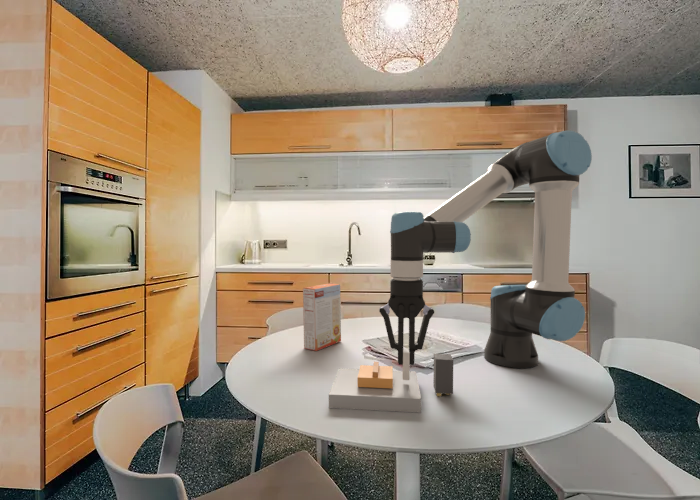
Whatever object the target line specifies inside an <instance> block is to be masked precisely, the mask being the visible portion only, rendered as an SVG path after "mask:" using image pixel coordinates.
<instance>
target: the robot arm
mask: <svg viewBox="0 0 700 500" xmlns="http://www.w3.org/2000/svg"><path fill="white" fill-rule="evenodd" d="M592 157H593V156H592V150H591V146H590V145H589V143H588V141H587V139H585V138H584V136H583V135H582V134H580V133H579V132H577V131H575V130H569V129H568V130H562V131H558V132H552V133H551V134H549V135H545V136H542V137H539V138H536V139H533V140H530V141H526V142H524V143H521V144H520V145H518V146H516V147H514V148H512V149H511V150H510V151H508V152H507V153H505V154H504V155H503V156H501V157H500V158H499V159H498V160H496V161H494V162H493V163H492V164H491V165H489V166H488V167H487V169H486V173H485V172H484V174H483V175H480V177H478V178H476V179H475V180H474V181H472V182H471V183H470V184H468V185H467V186H466V187H464V188H463V189H462V190H460V191H458V192H457V193H456V194H454V195H453V196H452V197H450V198H449V199H447V200H446V201H444V202H443V203H442V204H440V205H439V206H438V207H436V208H435V209H433V210H432V211H430V212H428V214H426V215H425V216H424V213H423V212H419V211H418V212H417V211H399V212H394V213H393V214H392V215H391V221H390V231H389V233H390V277H391V280H390V282H389V283H390V285H389V286H390V289H389V290H390V291H389V293H390V297H389V299H388V302H387V304H385V305H383V306H382V305H381V306H380V307H379V309H378V311H379V313H380V315H381V316H382V318H383V322H384V325H385V330H386V333H387V338H388V341H389V342H388V343H389V346H390V349H394V350H396V351H397V363H398V365H402V371H403V380H409V371H410V367H411V366H414V365H415V353H416V351H418V350H420V351H421V350H422V349H423V348H424V347H423V346H424V342H425V338H426V336H427V331H428V327H429V323H430V320H431V319H432V317H433V316H434V314H435V310H434V308H433V307H430V306H428V305H427V304H426V301H425V300H424V281H423V280H422V278H423V277H424V254H425V253H426V254H428V253H433V254H434V253H439V254H440V253H443V254H444V253H447V254H448V253H449V254H450V253H453V254H455V253H463V252H465V251H467V250H468V248H469V246H470V245H471V241H472V239H471V238H472V237H471V235H472V234H471V233H472V232H471V228H470V227H469V226H468V225H467V223H466V222H465V221H466V220H467V219H469V218H470V217H471V216H473V215H474V214H475V213H477V212H478V211H480V210H481V209H483V208H484V207H485V206H487V205H488V204H490V203H491V202H492V201H493V200H495V199H496V198H498V197H499V196H500V195H502V194H508V193H510V192H512V191H513V190H514V189H516V188H518V187H521V186H525V185H528V186H529V188H530V189H531V190H532V191H533V192H534V215H533V241H532V245H533V246H532V264H531V267H532V268H531V280H530V281H529V282H528V283H527V284H509V285H508V284H506V285H505V284H504V285H495V286H493V287H492V288H491V292H490V299H489V300H490V334H489V337H488V339H487V341H486V344H485V347H484V351H483V352H484V353H483V358H484V359H485V360H486V361H487V362H489V363H491V364H494V365H496V366H501V367H505V368H513V369H531V368H534V367H537V366H538V365H539V353H538V351H537V347H536V344H535V342H534V339H533V335H536V336H539V337H542V338H543V339H546V340H553V341H556V342H566V341H568V340H571V339H574V337H576V336H577V334H578V333H580V331H581V329H582V328H583V326H584V323H585V320H586V309H585V306H583V303H582V302H581V301H580V300H579V299H577V298H575V297H576V296H575V293H576V290H575V288H574V287H573V286H572V285H571V284H570V282H569V276H570V275H569V271H570V270H569V269H570V250H571V249H570V246H571V228H572V227H571V223H572V199H573V198H572V196H573V195H572V194H573V190H575V189H576V188H577V187H578V186H579V185H580V175H583V174H584V173H585V172H586V171H588V169H589V168H590V167H591V164H592ZM390 311H392V312H393V313H394V315H395V316H396V317H397V342H396V340H395V336H394V335H395V334H394V331H393V327H392V322H391V320H390V315H389V314H390V313H391V312H390ZM421 311H422V314H423V318H422V321H421V324H420V328H419V333H418V337H417V340H416V339H415V337H416V336H415V335H416V334H415V333H416V332H415V331H416V330H415V329H416V325H415V324H416V318H417V317H418V316H419V314H420V313H421ZM405 319H408V348H404V331H405V330H404V327H405V325H404V323H405V322H404V321H405ZM415 340H416V341H415Z"/></svg>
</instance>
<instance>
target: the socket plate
mask: <svg viewBox="0 0 700 500" xmlns="http://www.w3.org/2000/svg"><path fill="white" fill-rule="evenodd" d="M359 369H360V368H338V370H337V373H336V375H335V378H334V380H333V383H332V386H331V388H330V389H329V393H328V409H330V408H331V409H345V410H362V411H363V410H364V411H382V412H385V411H386V412H404V413H405V412H406V413H420V414H421V413H422V397H421V396H422V395H421V390H420V387H419V385H420V384H419V380H418V375H417V371H415V370H413V371H412V370H409V380H403V370H393V388H372V387H358V373H359Z"/></svg>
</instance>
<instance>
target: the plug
mask: <svg viewBox="0 0 700 500" xmlns="http://www.w3.org/2000/svg"><path fill="white" fill-rule="evenodd" d="M433 390H434V393H435V394H436V397H441V396H442V394H445V395H446V396H451V394H452V395H453V394H454V359H453V356H452V354H449V353H447V354H443V353H433Z"/></svg>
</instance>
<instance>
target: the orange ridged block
mask: <svg viewBox="0 0 700 500" xmlns="http://www.w3.org/2000/svg"><path fill="white" fill-rule="evenodd" d="M379 363H380V362H379V361H373V365H368V364H367V365H365V364H360V365H359V368H358V369H359V373H358V387H372V388H393V371H394V370H393V365H389V366H388V365H387V366H386V365H379Z"/></svg>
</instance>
